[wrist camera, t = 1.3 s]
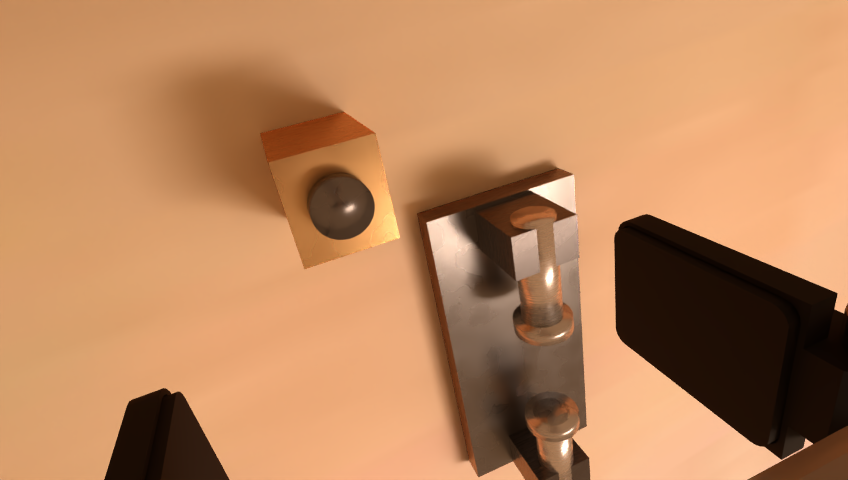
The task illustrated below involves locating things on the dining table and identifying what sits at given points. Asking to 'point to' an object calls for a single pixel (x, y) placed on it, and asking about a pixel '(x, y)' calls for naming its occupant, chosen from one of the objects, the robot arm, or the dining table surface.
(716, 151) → the dining table surface
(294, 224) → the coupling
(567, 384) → the shaft rig
